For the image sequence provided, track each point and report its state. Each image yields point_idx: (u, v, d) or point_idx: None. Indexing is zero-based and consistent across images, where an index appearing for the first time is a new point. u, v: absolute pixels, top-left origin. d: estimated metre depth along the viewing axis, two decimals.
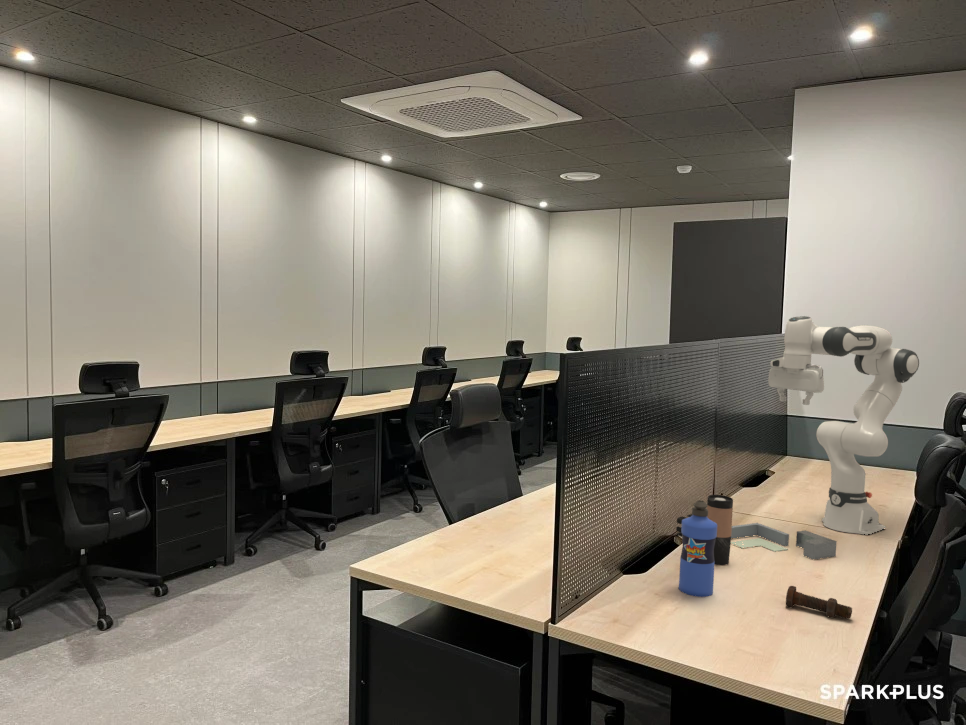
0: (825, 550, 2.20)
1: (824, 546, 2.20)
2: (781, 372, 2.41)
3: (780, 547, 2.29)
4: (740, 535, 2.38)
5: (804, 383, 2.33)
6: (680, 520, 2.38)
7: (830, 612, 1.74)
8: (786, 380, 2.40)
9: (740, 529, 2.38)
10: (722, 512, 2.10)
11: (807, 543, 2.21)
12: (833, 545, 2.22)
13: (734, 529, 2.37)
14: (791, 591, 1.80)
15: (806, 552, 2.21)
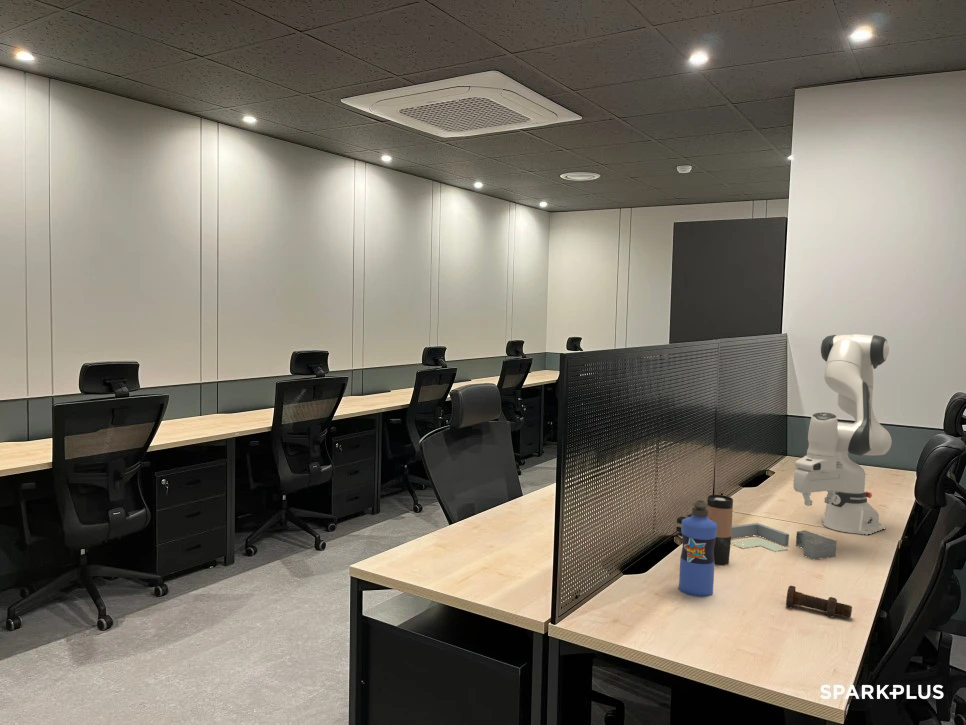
0: (825, 550, 2.20)
1: (824, 546, 2.20)
2: (816, 475, 2.22)
3: (780, 547, 2.29)
4: (740, 535, 2.38)
5: (834, 482, 2.26)
6: (680, 520, 2.38)
7: (831, 611, 1.75)
8: (819, 482, 2.23)
9: (740, 529, 2.38)
10: (722, 512, 2.10)
11: (807, 543, 2.21)
12: (833, 545, 2.22)
13: (734, 529, 2.37)
14: (791, 591, 1.80)
15: (806, 552, 2.21)
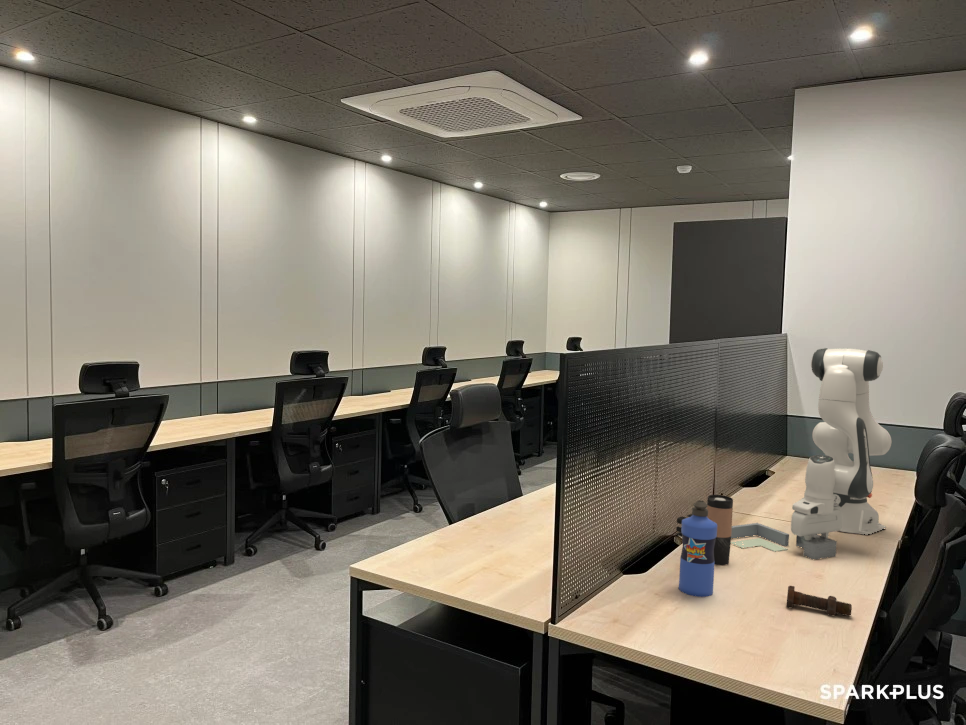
0: (825, 550, 2.20)
1: (824, 546, 2.20)
2: (813, 518, 2.23)
3: (780, 547, 2.29)
4: (740, 535, 2.38)
5: (832, 524, 2.27)
6: (680, 520, 2.38)
7: (832, 610, 1.75)
8: (817, 525, 2.24)
9: (740, 529, 2.38)
10: (722, 512, 2.10)
11: (807, 543, 2.21)
12: (833, 545, 2.22)
13: (734, 529, 2.37)
14: (792, 591, 1.80)
15: (806, 552, 2.21)
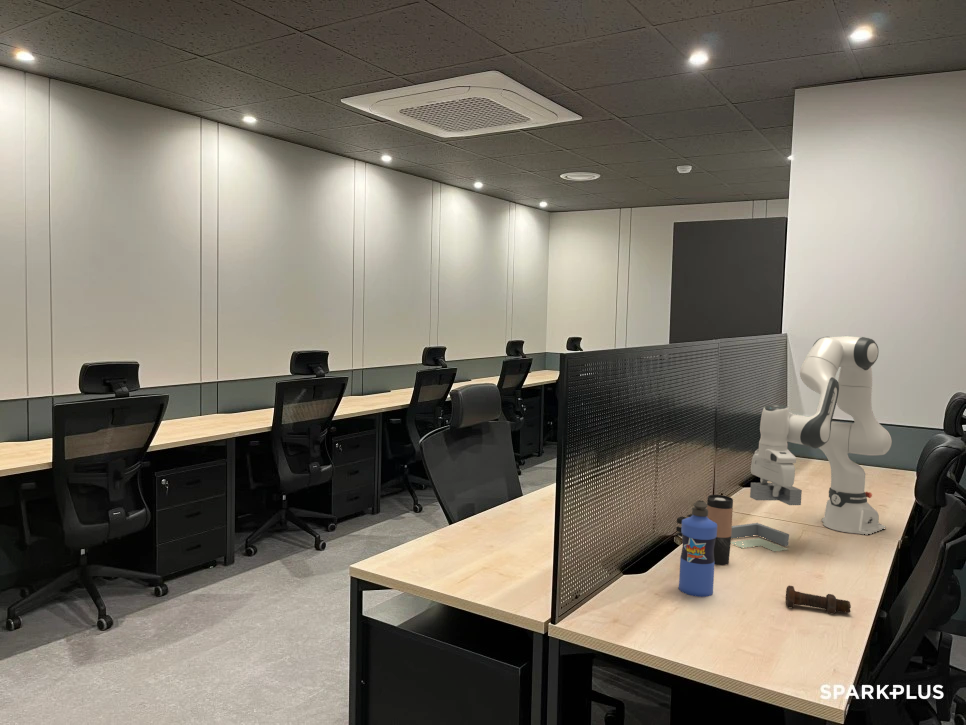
0: None
1: None
2: None
3: (780, 547, 2.29)
4: (740, 535, 2.38)
5: None
6: (680, 520, 2.38)
7: (832, 608, 1.77)
8: None
9: (740, 529, 2.38)
10: (722, 512, 2.10)
11: (793, 491, 2.22)
12: None
13: (734, 529, 2.37)
14: (792, 591, 1.80)
15: (792, 500, 2.22)
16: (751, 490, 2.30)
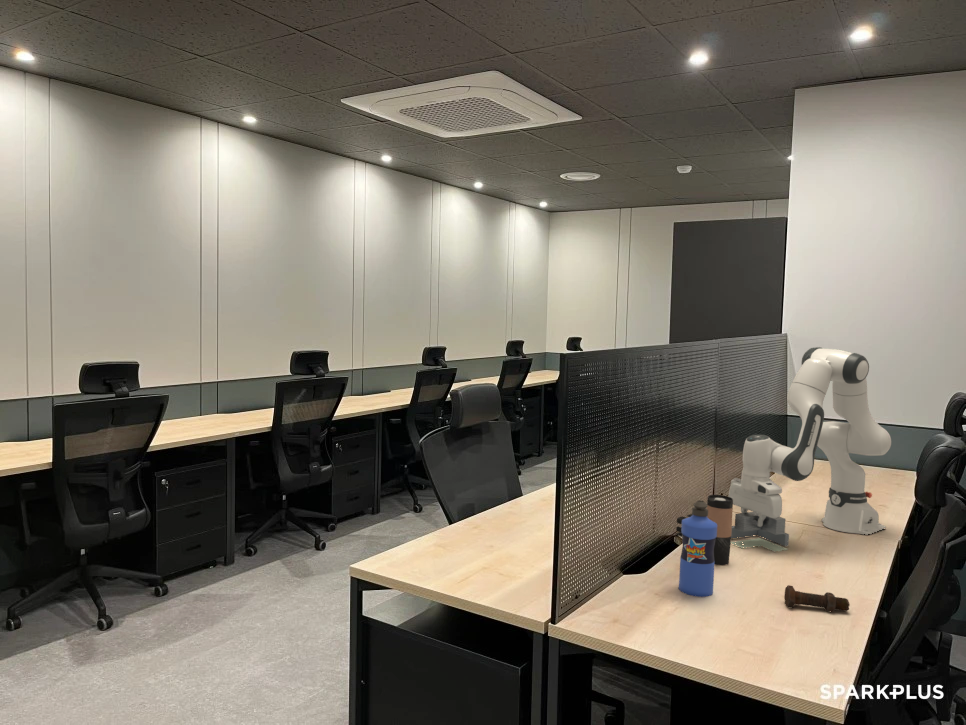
0: None
1: None
2: None
3: (780, 547, 2.29)
4: (740, 535, 2.38)
5: None
6: (680, 520, 2.38)
7: (832, 607, 1.77)
8: None
9: None
10: (722, 512, 2.10)
11: (779, 521, 2.26)
12: None
13: (734, 529, 2.37)
14: (792, 591, 1.80)
15: (778, 530, 2.26)
16: (736, 521, 2.31)
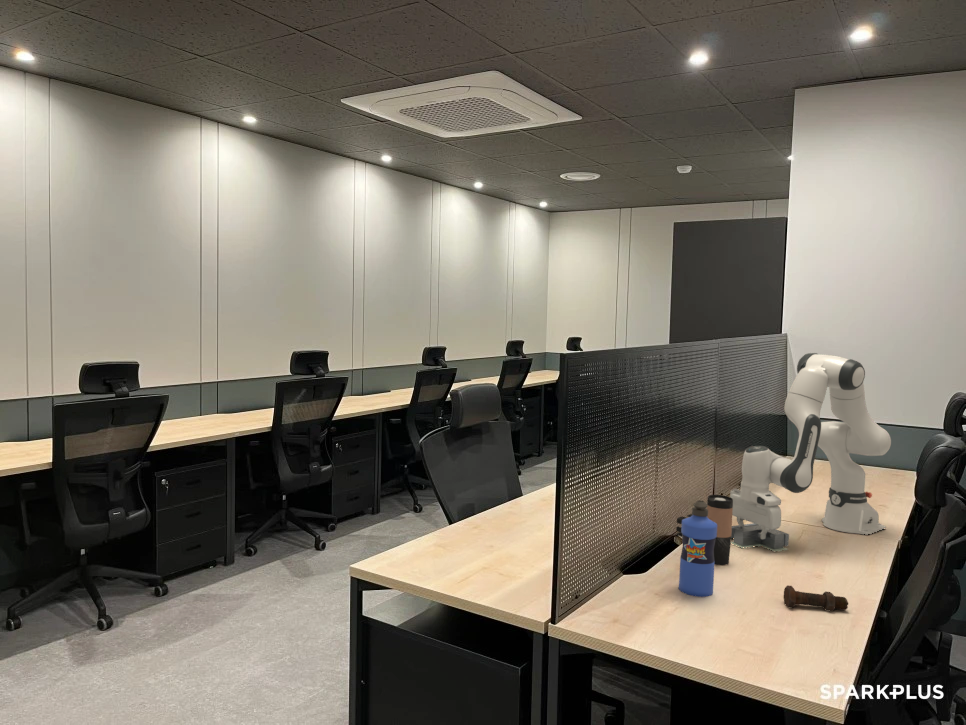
0: None
1: None
2: None
3: None
4: None
5: None
6: (680, 520, 2.38)
7: (831, 606, 1.78)
8: None
9: None
10: (722, 512, 2.10)
11: (778, 535, 2.27)
12: None
13: None
14: (793, 591, 1.80)
15: (777, 544, 2.27)
16: (735, 536, 2.31)
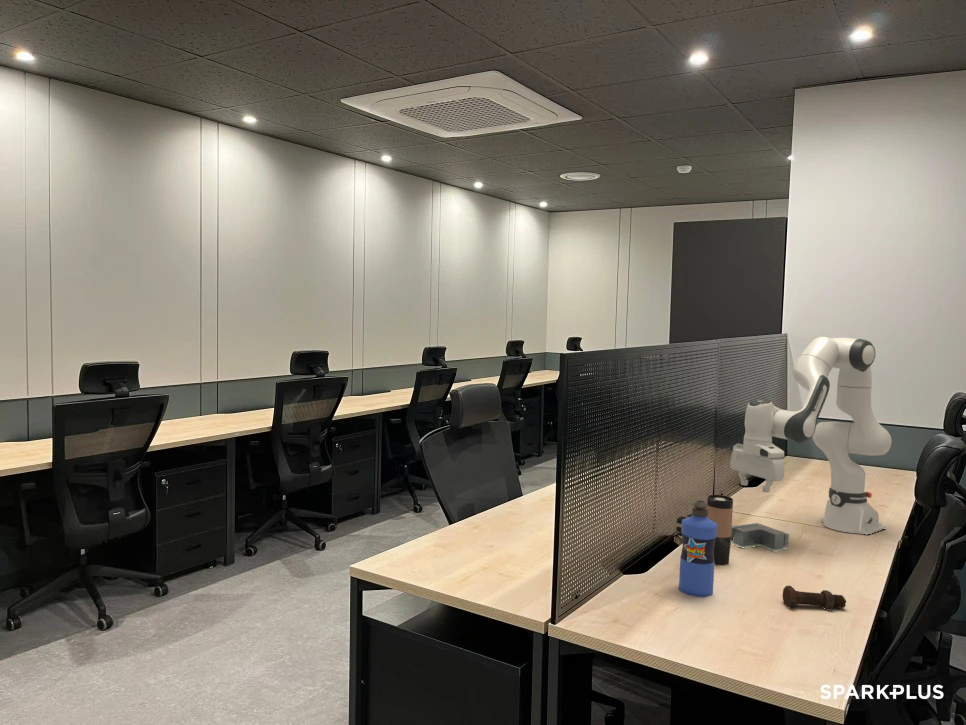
0: None
1: None
2: None
3: None
4: None
5: None
6: (680, 520, 2.38)
7: (831, 605, 1.79)
8: None
9: None
10: (722, 512, 2.10)
11: (778, 535, 2.27)
12: None
13: None
14: (793, 591, 1.80)
15: (777, 544, 2.27)
16: (735, 536, 2.31)
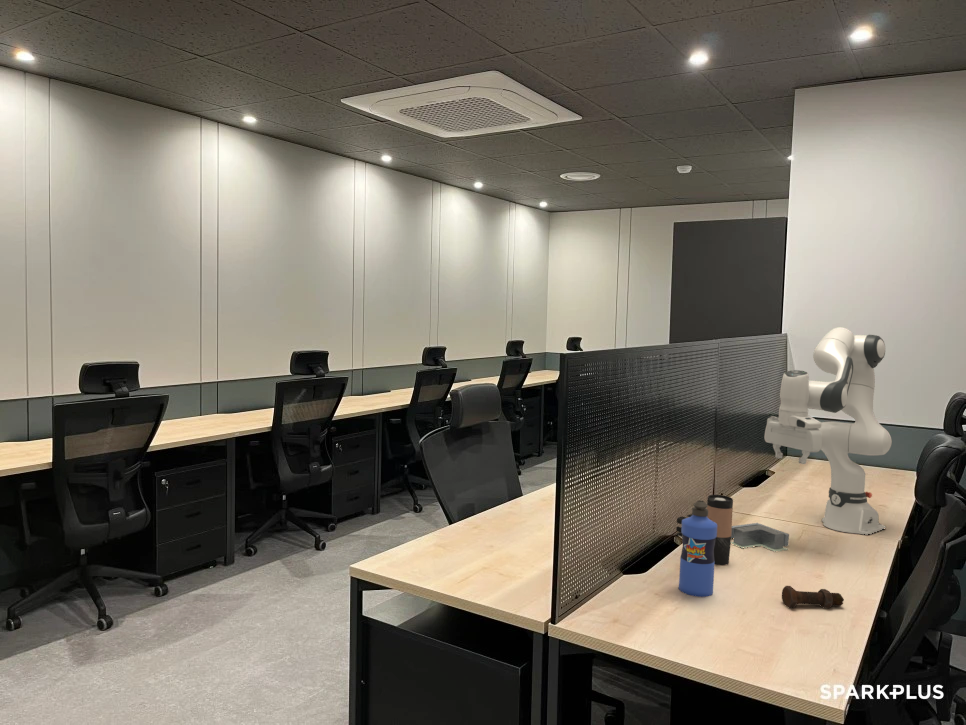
0: None
1: None
2: None
3: None
4: None
5: None
6: (680, 520, 2.38)
7: (829, 603, 1.80)
8: None
9: None
10: (722, 512, 2.10)
11: (778, 535, 2.27)
12: None
13: None
14: (794, 591, 1.80)
15: (777, 544, 2.27)
16: (735, 536, 2.31)
